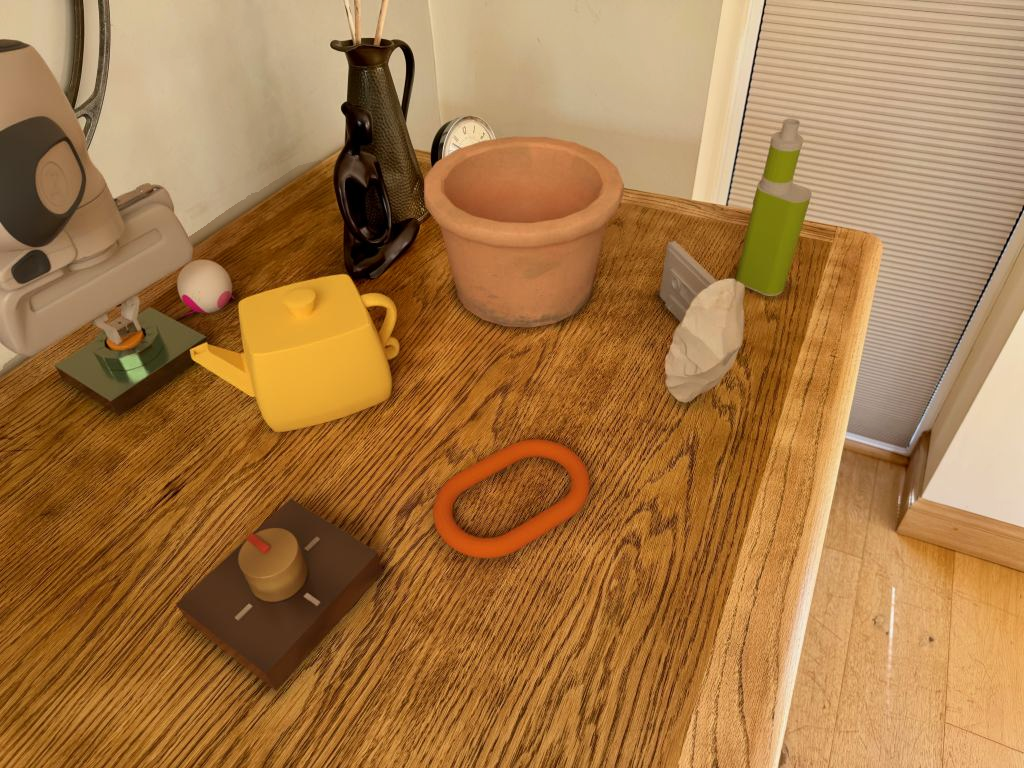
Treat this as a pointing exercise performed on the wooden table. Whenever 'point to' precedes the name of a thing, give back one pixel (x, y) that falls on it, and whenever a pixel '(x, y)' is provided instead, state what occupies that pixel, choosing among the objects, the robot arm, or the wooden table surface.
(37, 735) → the wooden table surface
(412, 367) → the wooden table surface
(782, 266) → the vape
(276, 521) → the dimmer panel
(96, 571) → the wooden table surface
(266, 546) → the dimmer knob
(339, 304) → the teapot
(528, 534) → the orange oval ring
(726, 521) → the wooden table surface
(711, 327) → the stone
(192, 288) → the stress ball
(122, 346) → the button
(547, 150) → the pottery
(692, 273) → the cassette
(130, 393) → the lamp switch
